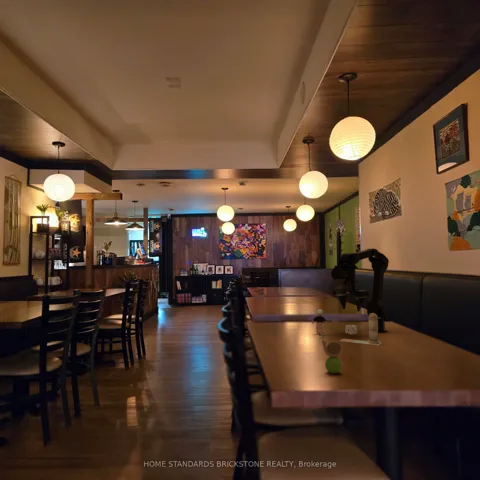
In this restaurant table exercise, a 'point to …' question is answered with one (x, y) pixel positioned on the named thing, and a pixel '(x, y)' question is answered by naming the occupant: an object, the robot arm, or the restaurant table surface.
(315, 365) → the restaurant table surface
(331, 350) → the snail figurine
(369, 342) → the pawn
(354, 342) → the board
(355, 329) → the die
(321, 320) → the grandmother figurine
